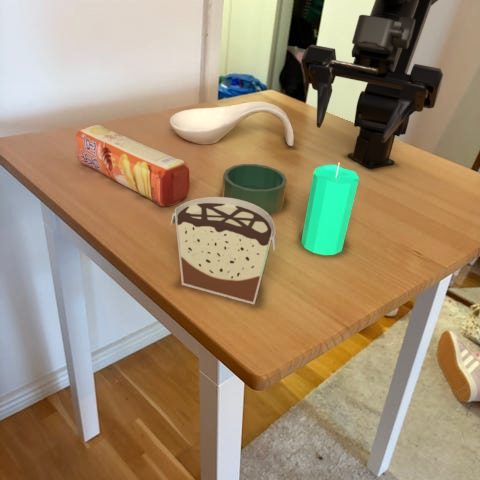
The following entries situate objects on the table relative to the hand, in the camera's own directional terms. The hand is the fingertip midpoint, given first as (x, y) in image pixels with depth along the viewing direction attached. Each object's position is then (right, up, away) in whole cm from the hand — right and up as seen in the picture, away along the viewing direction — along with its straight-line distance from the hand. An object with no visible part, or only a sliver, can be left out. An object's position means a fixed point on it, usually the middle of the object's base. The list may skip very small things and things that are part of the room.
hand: (349, 133), depth 73 cm
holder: (-13, -7, +11) cm, 18 cm away
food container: (-17, -21, -7) cm, 28 cm away
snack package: (-33, -4, +12) cm, 35 cm away
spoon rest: (-17, +9, +30) cm, 35 cm away
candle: (-4, -15, +2) cm, 16 cm away
